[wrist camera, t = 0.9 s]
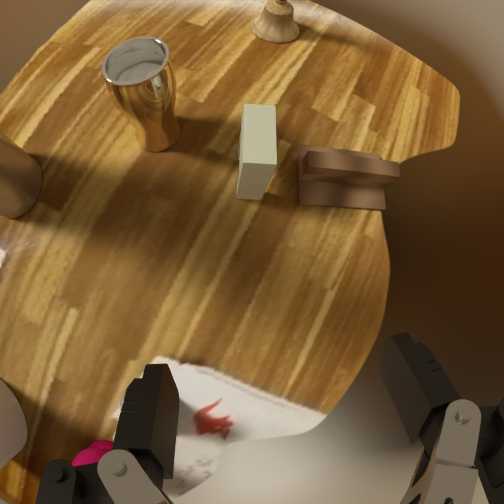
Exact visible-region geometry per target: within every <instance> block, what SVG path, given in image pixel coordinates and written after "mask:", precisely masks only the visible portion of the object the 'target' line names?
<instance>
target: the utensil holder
mask: <svg viewBox="0 0 504 504" xmlns="http://www.w3.org/2000/svg"><path fill="white" fill-rule="evenodd" d="M26 441H27V424H26V420H25V416H24V413H23V411H22V408H21V406H20V404H19V402H18V400H17V399H16V397H15V395H14V394H13V392H12V391H11V390H10V388H9V387H8V386H7V385H6V384H5V383H4V382H3V381H2V380H1V379H0V468H2V467H3V466H4V465H5V464H6V463H8V462H9V461H10V460H11V459H12V458H13V457H14V456H15V455H16V454H17V453H18V452H20V451H21V449H22V448H23V447H24V445H25V443H26Z"/></svg>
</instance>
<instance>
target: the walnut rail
mask: <svg viewBox="0 0 504 504" xmlns="http://www.w3.org/2000/svg"><path fill="white" fill-rule="evenodd" d="M297 165H298V192H299V205H314V206H330V207H345V208H358V209H371V210H386V204H385V195H384V188H385V187H386V186H388V185H389V184H391V183H392V182H394V181H395V180H397V179H398V178H400V171H399V164H398V162H393V161H387V160H380V155H377V154H371V153H364V152H357V151H350V150H342V149H334V148H325V147H315V146H305V145H297Z"/></svg>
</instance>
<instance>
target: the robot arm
mask: <svg viewBox="0 0 504 504" xmlns="http://www.w3.org/2000/svg"><path fill="white" fill-rule="evenodd" d="M41 185H42V171H41V168H40V166H39V164H38V163H37V161H36V160H34V159H33V158H32V157H31V156H30V155H28V154H27V153H26V152H25V151H24V150H22V149H21V148H20V147H19V146H18V145H17V144H15V143H14V142H13V141H12V140H11V139H9V138H8V137H7V136H6V135H5V134H4V133H2V132H1V131H0V215H2V216H4V217H7V218H18V217H20V216H22V215H23V214H25V213H26V212H27V211H28V210H29V209H30V208H31V207H32V206H33V204H34V203H35V201H36V199H37V197H38V195H39V192H40V189H41ZM380 374H381V377H382V380H383V382H384V384H385V386H386V388H387V391H388V393H389V395H390V397H391V399H392V401H393V403H394V405H395V408H396V410H397V412H398V415H399V417H400V419H401V421H402V424H403V426H404V428H405V431H406V433H407V435H408V437H409V440H410V442H411V444H414V443H417V442H420V441H421V442H422V444H423V448H422V450H421V453H420V456H419V460H418V462H417V465H416V468H415V471H414V474H413V477H412V479H411V482H410V485H409V487H408V490H407V492H406V494H405V495H404V497H403V499H402V500H401V502H400V504H471V502H472V498H473V494H474V490H475V486H476V482H477V477H478V475H479V478H480V480H481V483H482V486H483V488H484V491H485V494H486V497H487V499H488V502H489V504H504V398H503V399H502V400H501V402H500V403H499V405H497V406H488V407H477V405H475V404H474V403H473V402H471V401H469V400H464V399H461V397H460V396H459V394H458V393H457V391H456V389H455V388H454V387H453V385H452V383H451V381H450V380H449V378H448V377H447V375H446V374H445V372H444V370H443V369H441V366H440V364H439V363H438V362H437V361H436V358H435V356H434V355H433V353H432V352H431V350H430V349H428V348H427V347H426V346H424V345H423V344H421V343H420V342H418V343H414V341H413V340H412V338H411V337H410V335H409V334H408V333H407V332H403V333H399V334H394V335H390V336H387V338H386V341H385V345H384V349H383V354H382V358H381V362H380ZM178 414H179V393H178V389H177V387H176V384H175V382H174V379H173V376H172V374H171V371H170V368H169V366H168V364H147V365H146V366H145V369H144V373H143V378H134V380H133V381H132V382H131V384H130V385H129V386H128V388H127V389H126V393H125V397H124V403H123V404H122V408H121V413H120V416H119V421H118V425H117V429H116V433H115V437H114V442H113V446H112V449H111V451H109V452H107V453H106V454H104V455H103V456H102V457H101V459H100V460H99V461H98V462H95V463H91V464H85V465H78V466H73V465H72V464H71V463H70V462H68V461H67V460H64V459H55V460H53V461H51V462H49V463H48V464H47V465H46V466H45V467H44V469H43V472H42V476H41V480H40V485H39V489H38V494H37V499H36V504H174V503H173V502H172V501H171V499H170V498H169V497H168V496H167V494H166V493H165V492H164V490H163V489H162V486H163V479H173V468H174V456H175V444H176V434H177V423H178ZM474 465H475V467H474Z"/></svg>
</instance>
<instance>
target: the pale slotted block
mask: <svg viewBox="0 0 504 504" xmlns="http://www.w3.org/2000/svg"><path fill="white" fill-rule="evenodd" d="M237 160H239V178H238V184H237V190H236V199H250V200H261V199H262V197H263V194H264V192H265V190H266V188H267V185H268V183H269V181H270V178H271V176H272V174H273V172H274V169H275V167H276V165H277V153H276V113H275V106H270V105H257V104H244V109H243V116H242V123H241V130H240V137H239V144H238V151H237Z"/></svg>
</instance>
